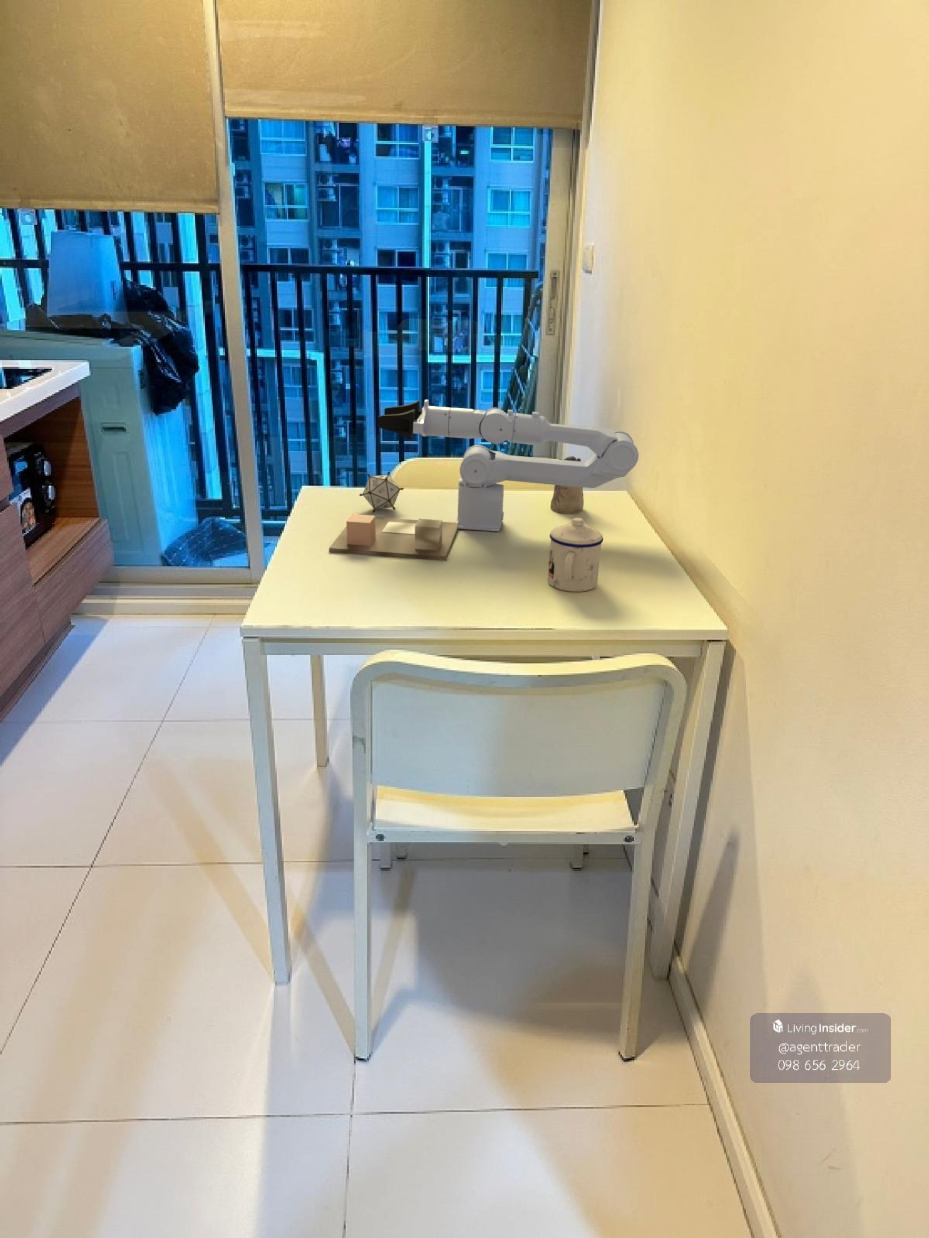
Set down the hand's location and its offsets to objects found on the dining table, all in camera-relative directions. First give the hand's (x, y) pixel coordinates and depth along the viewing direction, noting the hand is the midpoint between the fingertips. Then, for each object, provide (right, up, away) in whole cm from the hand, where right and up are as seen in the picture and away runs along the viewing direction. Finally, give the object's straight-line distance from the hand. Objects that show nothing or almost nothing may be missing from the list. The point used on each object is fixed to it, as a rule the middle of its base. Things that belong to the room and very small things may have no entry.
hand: (381, 417), depth 165 cm
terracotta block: (-3, -25, -6) cm, 26 cm away
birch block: (+10, -26, -7) cm, 29 cm away
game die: (-2, -17, +15) cm, 23 cm away
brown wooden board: (+3, -24, -2) cm, 25 cm away
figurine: (+39, -16, +20) cm, 47 cm away
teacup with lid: (+35, -35, -21) cm, 54 cm away
